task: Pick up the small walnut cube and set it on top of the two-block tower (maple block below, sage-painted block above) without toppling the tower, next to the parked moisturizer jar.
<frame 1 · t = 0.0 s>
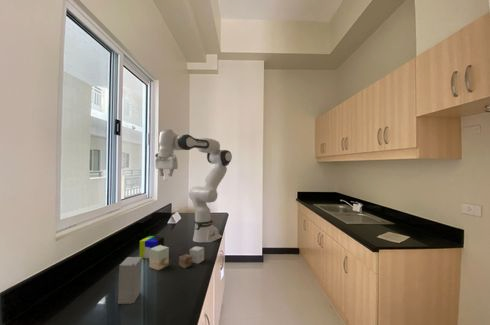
hand: (166, 176, 155), 48 cm above the worktop, fingers open, 8 cm apart
skincare box 2: (196, 261, 139), on the worktop
walnut block: (185, 265, 133), on the worktop
puzzle toy: (151, 255, 147), on the worktop
tower top: (159, 257, 131), point 5 cm above the worktop
skincare box: (130, 299, 99), on the worktop
tower base: (159, 266, 131), on the worktop
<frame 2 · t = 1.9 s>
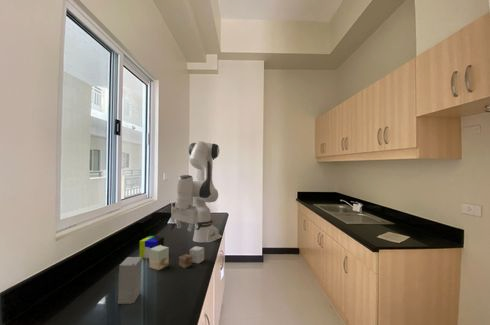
hand: (184, 229, 134), 19 cm above the worktop, fingers open, 8 cm apart
tower top: (159, 257, 131), point 5 cm above the worktop, touching tower base
tower base: (159, 266, 131), on the worktop, touching tower top
everything else where it was.
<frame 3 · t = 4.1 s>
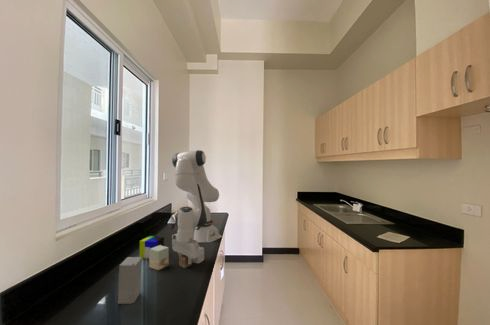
hand: (185, 262, 133), 2 cm above the worktop, fingers closed on walnut block, 5 cm apart
walnut block: (185, 265, 133), on the worktop, touching gripper
everything else where it was.
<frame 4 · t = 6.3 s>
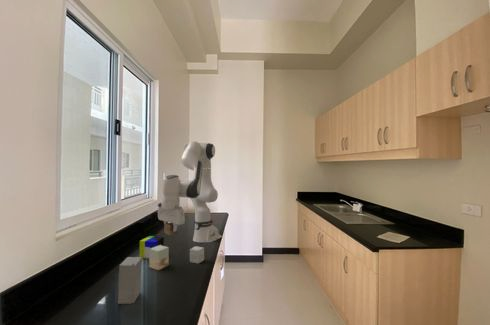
hand: (170, 230, 132), 19 cm above the worktop, fingers closed on walnut block, 5 cm apart
walnut block: (170, 233, 132), point 18 cm above the worktop, touching gripper
everything else where it was.
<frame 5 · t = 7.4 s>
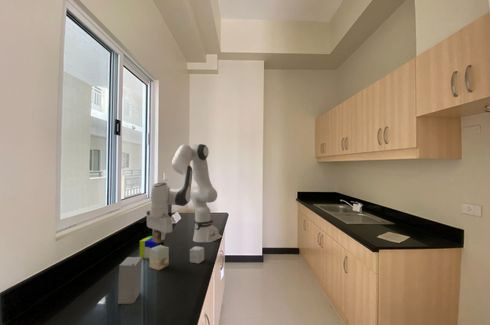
hand: (159, 238, 131), 15 cm above the worktop, fingers closed on walnut block, 5 cm apart
walnut block: (158, 241, 131), point 14 cm above the worktop, touching gripper
everything else where it was.
when the fingers open (13 cm above the worktop, at t = 8.2 s): walnut block drops 2 cm, resting on tower top.
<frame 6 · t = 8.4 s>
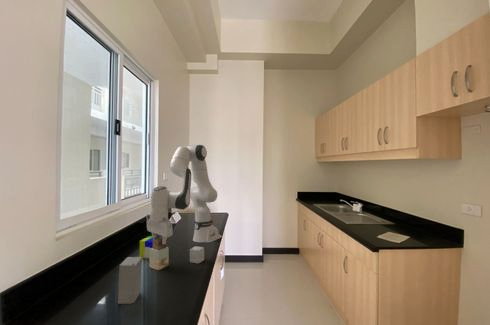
hand: (159, 242, 132), 13 cm above the worktop, fingers open, 7 cm apart
walnut block: (159, 248, 131), point 10 cm above the worktop, touching tower top
tower top: (159, 257, 131), point 5 cm above the worktop, touching tower base, walnut block
everything else where it was.
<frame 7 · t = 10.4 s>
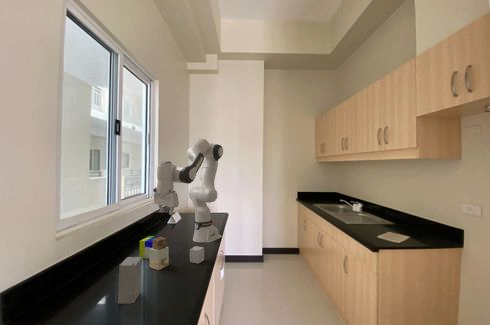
hand: (166, 213, 140), 27 cm above the worktop, fingers open, 8 cm apart
nothing on the worktop moved.
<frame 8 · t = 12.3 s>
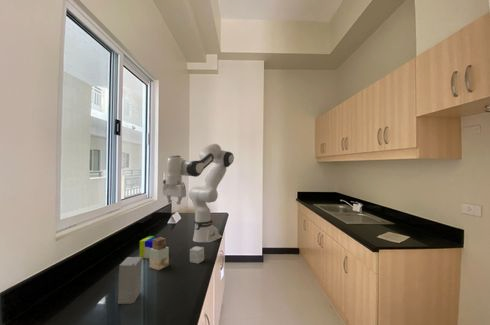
hand: (174, 203, 150), 31 cm above the worktop, fingers open, 8 cm apart
nothing on the worktop moved.
at the end: walnut block 0.1 cm off-centre on the tower top, point 5.0 cm above the tower top's base; tower top 0.1 cm off-centre on the tower base, point 5.0 cm above the tower base's base; walnut block tilted 0° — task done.
